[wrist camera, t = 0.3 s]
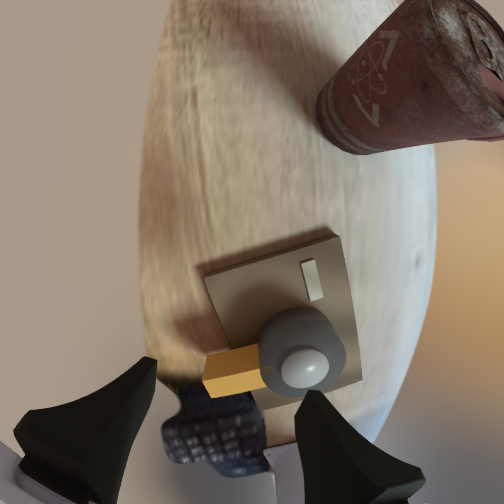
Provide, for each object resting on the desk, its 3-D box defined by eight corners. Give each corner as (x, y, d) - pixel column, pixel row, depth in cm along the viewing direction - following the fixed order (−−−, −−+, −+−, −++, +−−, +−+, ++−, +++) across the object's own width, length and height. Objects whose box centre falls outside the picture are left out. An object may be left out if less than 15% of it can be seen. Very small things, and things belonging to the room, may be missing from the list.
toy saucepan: (326, 296, 19) (342, 320, 16) (338, 358, 21) (352, 385, 17) (197, 334, 20) (188, 362, 16) (224, 389, 21) (221, 420, 18)
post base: (359, 373, 23) (363, 381, 22) (259, 403, 23) (259, 412, 22) (335, 233, 20) (340, 237, 18) (205, 273, 20) (202, 279, 19)
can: (351, 174, 18) (509, 174, 5) (297, 105, 17) (386, -14, 4) (402, 133, 18) (547, 106, 4) (354, 68, 16) (463, -25, 3)
